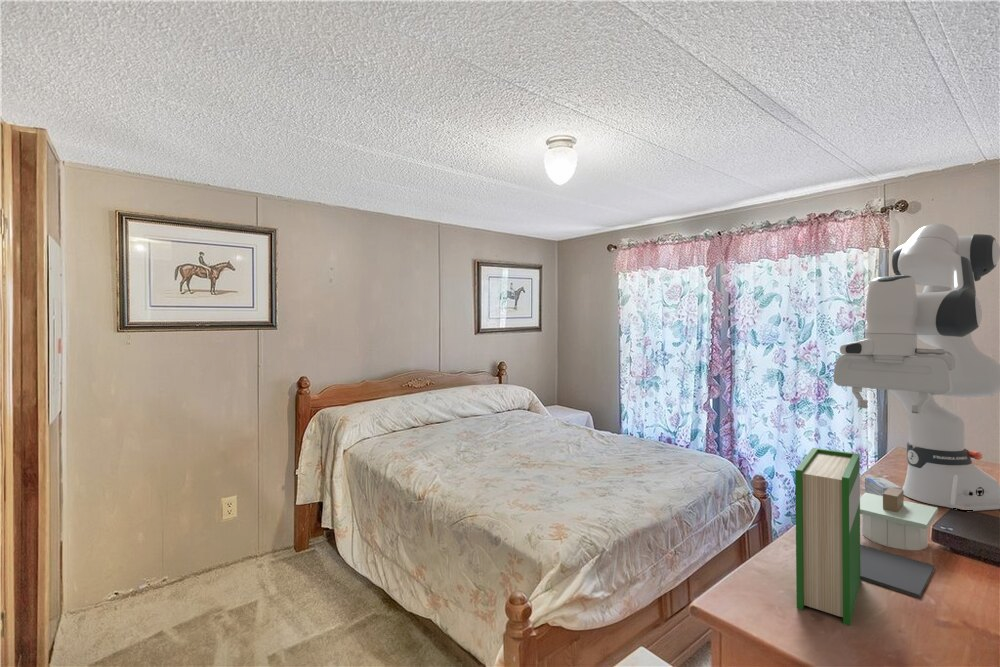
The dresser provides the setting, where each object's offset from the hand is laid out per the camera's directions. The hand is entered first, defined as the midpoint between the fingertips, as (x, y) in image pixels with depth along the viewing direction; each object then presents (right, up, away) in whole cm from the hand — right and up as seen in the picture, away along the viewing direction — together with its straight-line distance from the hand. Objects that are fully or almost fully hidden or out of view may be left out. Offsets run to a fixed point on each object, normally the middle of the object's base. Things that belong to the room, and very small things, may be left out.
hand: (888, 410), depth 104 cm
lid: (+2, -23, +1) cm, 23 cm away
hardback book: (-26, -30, -19) cm, 44 cm away
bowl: (+2, -29, +1) cm, 29 cm away
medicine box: (+9, -29, +13) cm, 33 cm away
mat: (-11, -29, -10) cm, 33 cm away
